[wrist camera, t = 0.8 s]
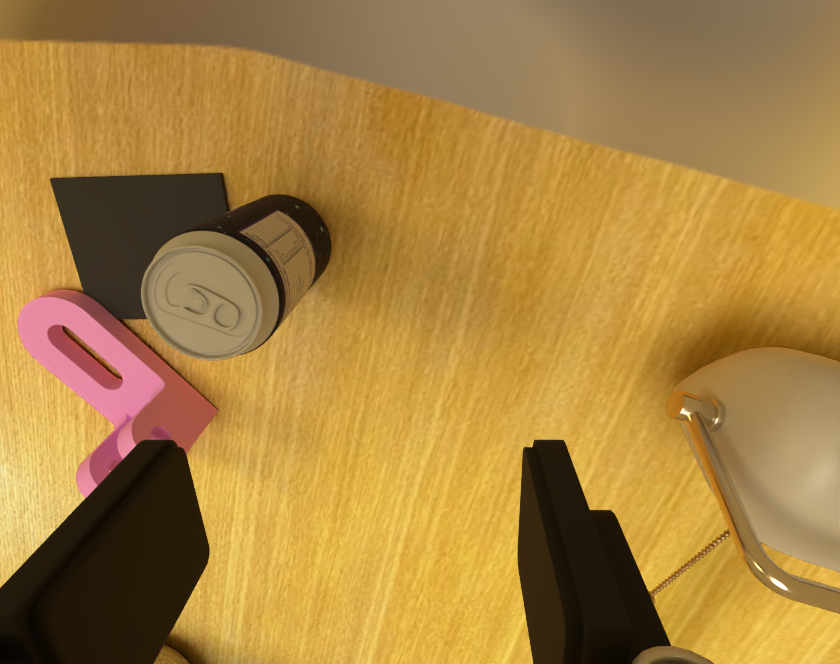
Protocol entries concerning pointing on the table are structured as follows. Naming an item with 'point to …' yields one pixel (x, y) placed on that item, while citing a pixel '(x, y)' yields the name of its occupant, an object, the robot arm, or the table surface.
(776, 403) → the lamp
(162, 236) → the rubber mat
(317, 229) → the beverage can
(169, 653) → the planter
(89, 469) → the bracket
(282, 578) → the table surface
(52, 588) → the robot arm
